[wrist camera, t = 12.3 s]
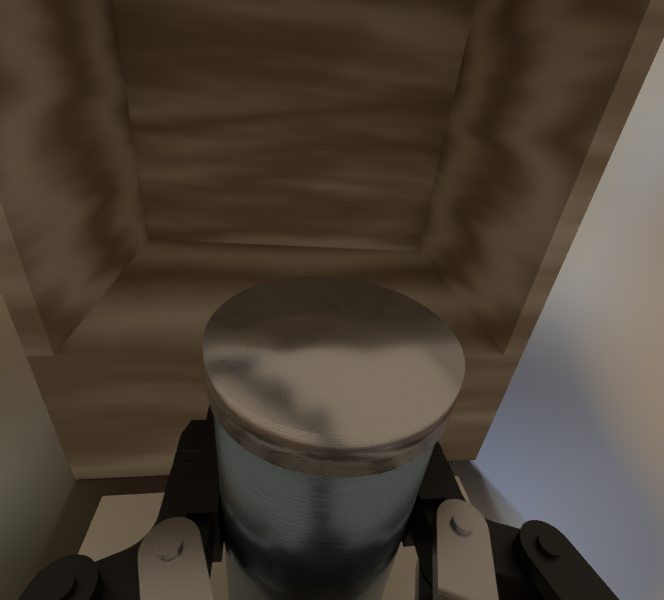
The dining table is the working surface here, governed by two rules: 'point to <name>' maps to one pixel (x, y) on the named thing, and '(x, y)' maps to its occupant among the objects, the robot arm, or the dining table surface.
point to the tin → (323, 431)
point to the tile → (141, 514)
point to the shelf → (290, 182)
